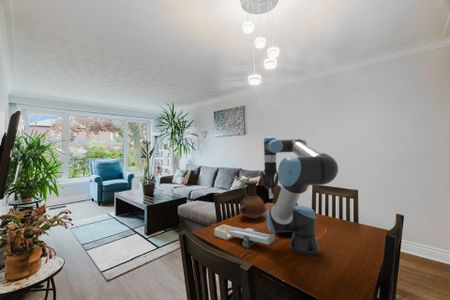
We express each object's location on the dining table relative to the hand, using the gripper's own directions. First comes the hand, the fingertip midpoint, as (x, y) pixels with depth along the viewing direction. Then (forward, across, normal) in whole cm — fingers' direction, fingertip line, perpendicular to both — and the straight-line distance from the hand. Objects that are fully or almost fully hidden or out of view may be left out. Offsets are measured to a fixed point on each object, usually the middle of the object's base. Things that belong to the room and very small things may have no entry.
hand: (271, 198), depth 130 cm
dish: (+24, +25, +17) cm, 39 cm away
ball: (+22, +26, +17) cm, 38 cm away
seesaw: (+20, +5, +15) cm, 25 cm away
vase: (+24, +27, -20) cm, 41 cm away
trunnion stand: (+24, +5, +18) cm, 30 cm away
